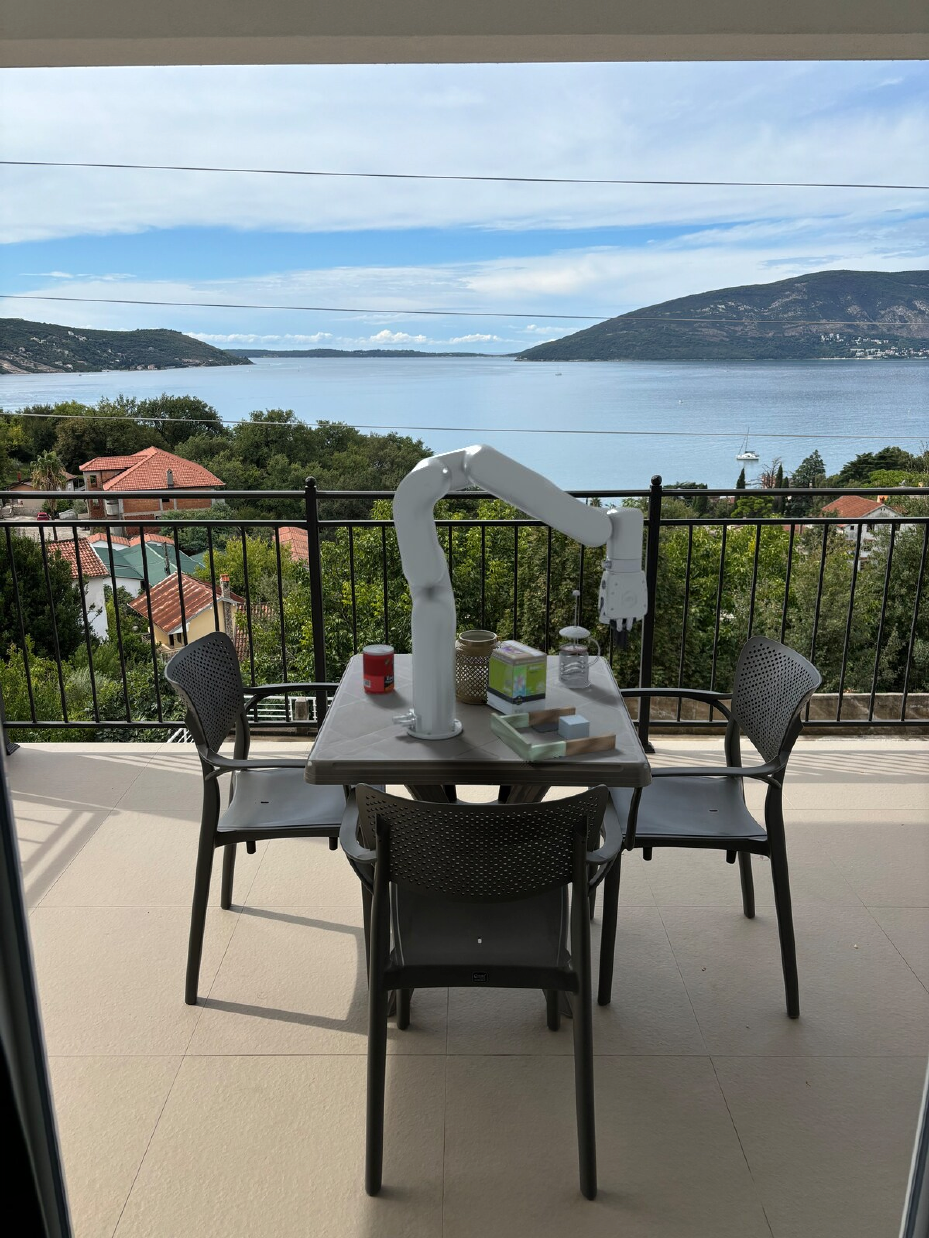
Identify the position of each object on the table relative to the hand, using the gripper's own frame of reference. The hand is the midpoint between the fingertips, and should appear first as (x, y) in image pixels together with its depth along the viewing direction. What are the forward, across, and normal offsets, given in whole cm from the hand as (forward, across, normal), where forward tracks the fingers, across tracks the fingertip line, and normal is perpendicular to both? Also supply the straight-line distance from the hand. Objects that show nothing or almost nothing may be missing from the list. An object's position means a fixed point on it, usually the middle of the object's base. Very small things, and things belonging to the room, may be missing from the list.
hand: (620, 646), depth 193 cm
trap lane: (+19, -17, 0) cm, 26 cm away
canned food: (+19, -43, +45) cm, 65 cm away
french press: (+20, +7, +33) cm, 39 cm away
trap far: (+19, -15, +6) cm, 25 cm away
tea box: (+20, -16, +22) cm, 34 cm away
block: (+20, -11, 0) cm, 23 cm away
